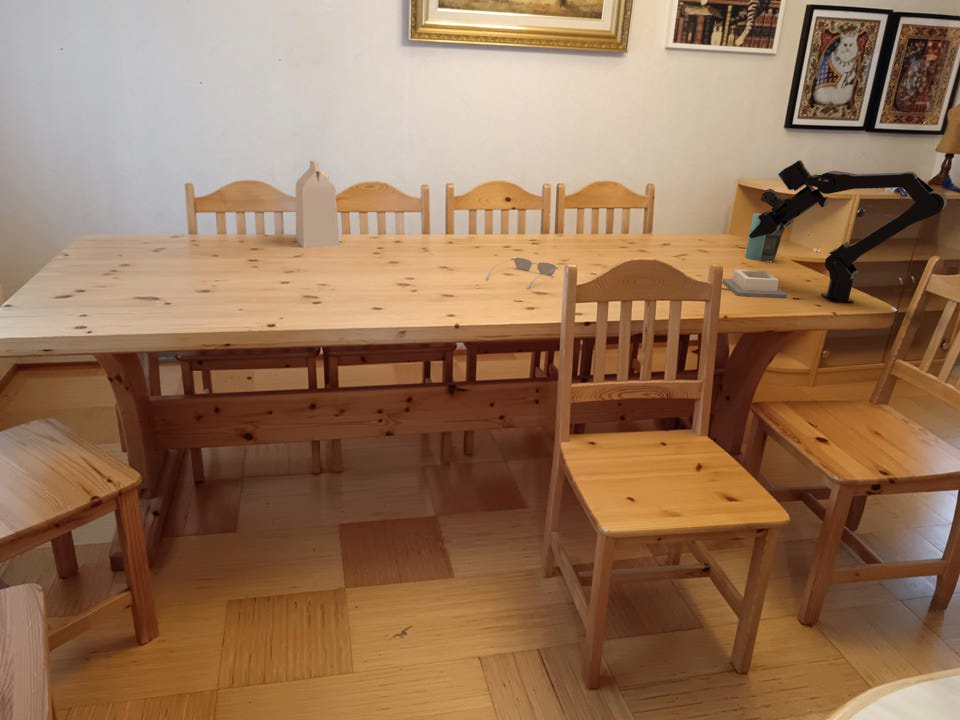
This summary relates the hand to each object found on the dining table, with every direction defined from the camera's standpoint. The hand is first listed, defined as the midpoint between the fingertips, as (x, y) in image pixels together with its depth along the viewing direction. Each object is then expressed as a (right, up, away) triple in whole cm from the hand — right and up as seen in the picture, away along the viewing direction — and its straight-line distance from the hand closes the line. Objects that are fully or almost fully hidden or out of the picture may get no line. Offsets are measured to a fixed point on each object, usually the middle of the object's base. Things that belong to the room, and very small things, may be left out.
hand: (752, 235), depth 212 cm
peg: (+1, -6, +2) cm, 7 cm away
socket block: (-2, -16, -5) cm, 17 cm away
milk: (-135, +2, +22) cm, 137 cm away
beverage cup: (+16, -3, +29) cm, 34 cm away
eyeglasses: (-69, -14, -5) cm, 71 cm away
